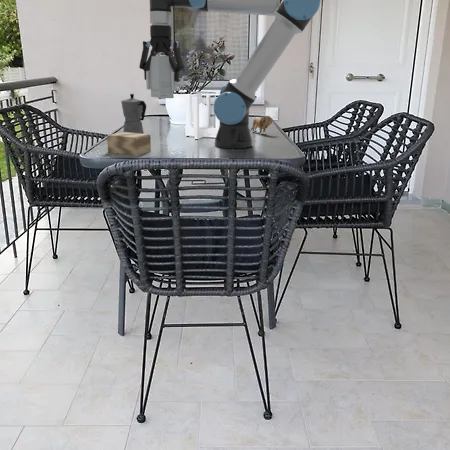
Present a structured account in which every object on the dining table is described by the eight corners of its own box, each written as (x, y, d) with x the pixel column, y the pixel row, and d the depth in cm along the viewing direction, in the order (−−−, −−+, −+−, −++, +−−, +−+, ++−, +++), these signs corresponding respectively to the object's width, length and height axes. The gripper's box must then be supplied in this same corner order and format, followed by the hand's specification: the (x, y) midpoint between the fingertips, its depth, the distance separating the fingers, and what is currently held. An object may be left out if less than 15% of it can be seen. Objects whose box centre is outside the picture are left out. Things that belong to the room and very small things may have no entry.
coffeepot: (115, 135, 210) (113, 93, 204) (132, 133, 217) (131, 92, 211) (137, 139, 201) (136, 95, 195) (154, 137, 208) (154, 94, 202)
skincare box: (173, 98, 176) (173, 55, 171) (159, 98, 173) (158, 55, 168) (163, 96, 183) (163, 55, 178) (149, 96, 180) (148, 55, 175)
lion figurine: (273, 135, 224) (274, 115, 221) (265, 136, 221) (266, 116, 218) (253, 131, 235) (254, 112, 232) (244, 131, 232) (245, 112, 229)
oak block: (150, 151, 178) (150, 134, 176) (136, 155, 169) (136, 137, 167) (123, 148, 182) (122, 131, 180) (107, 152, 173) (107, 135, 171)
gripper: (193, 26, 169) (193, 91, 177) (138, 25, 177) (140, 88, 184) (184, 24, 163) (184, 92, 170) (127, 24, 170) (130, 88, 178)
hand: (161, 90), depth 177 cm, fingers closed on skincare box, 10 cm apart
